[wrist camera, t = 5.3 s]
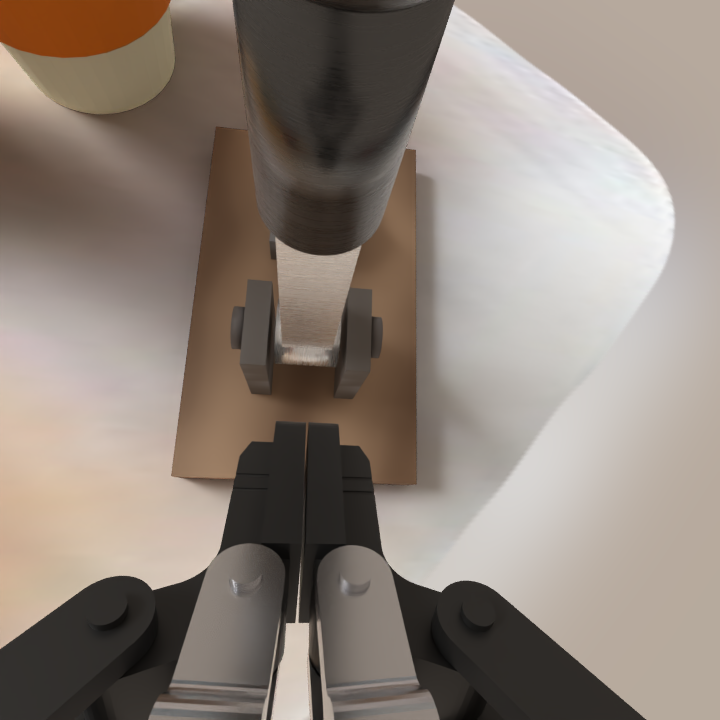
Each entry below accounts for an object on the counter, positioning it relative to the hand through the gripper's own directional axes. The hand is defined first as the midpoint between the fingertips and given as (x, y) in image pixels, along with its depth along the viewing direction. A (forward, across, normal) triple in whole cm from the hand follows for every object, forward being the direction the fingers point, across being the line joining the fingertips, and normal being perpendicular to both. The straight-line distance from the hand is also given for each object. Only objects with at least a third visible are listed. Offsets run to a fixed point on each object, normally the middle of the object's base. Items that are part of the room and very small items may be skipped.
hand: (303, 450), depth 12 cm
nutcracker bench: (+17, 0, +4) cm, 18 cm away
